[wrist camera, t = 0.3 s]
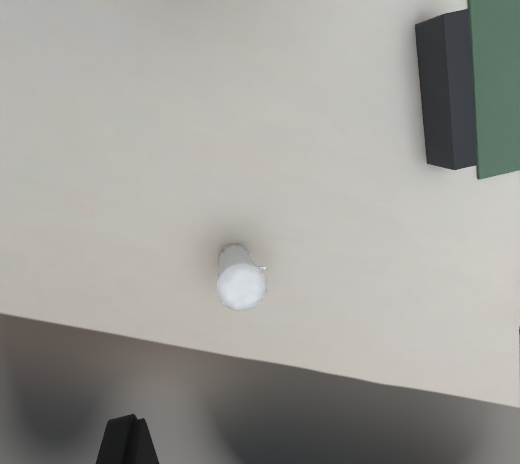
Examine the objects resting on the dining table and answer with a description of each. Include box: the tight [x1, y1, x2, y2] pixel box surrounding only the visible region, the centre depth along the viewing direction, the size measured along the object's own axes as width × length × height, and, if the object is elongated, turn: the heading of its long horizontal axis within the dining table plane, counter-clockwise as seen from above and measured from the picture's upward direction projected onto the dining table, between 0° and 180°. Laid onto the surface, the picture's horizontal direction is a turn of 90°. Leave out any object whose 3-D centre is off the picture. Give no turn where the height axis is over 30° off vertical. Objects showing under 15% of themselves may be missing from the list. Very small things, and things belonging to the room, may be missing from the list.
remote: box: [415, 9, 477, 170], centre depth 43 cm, size 14×3×5 cm, turn 12°
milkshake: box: [216, 244, 267, 311], centre depth 42 cm, size 4×5×10 cm
